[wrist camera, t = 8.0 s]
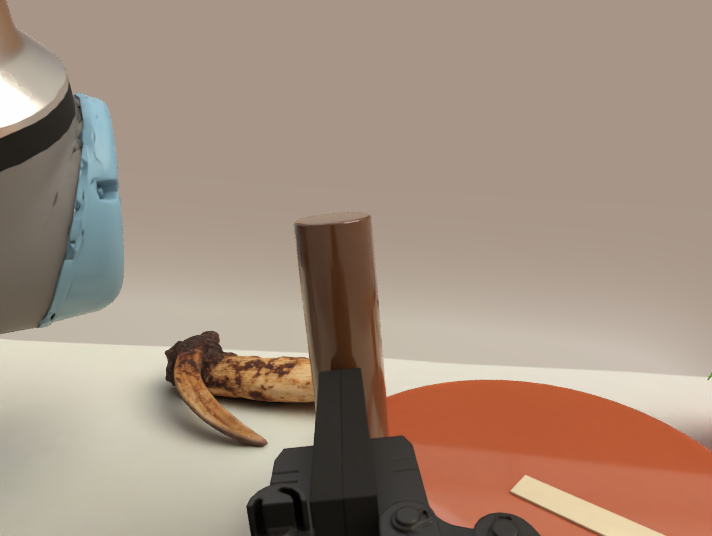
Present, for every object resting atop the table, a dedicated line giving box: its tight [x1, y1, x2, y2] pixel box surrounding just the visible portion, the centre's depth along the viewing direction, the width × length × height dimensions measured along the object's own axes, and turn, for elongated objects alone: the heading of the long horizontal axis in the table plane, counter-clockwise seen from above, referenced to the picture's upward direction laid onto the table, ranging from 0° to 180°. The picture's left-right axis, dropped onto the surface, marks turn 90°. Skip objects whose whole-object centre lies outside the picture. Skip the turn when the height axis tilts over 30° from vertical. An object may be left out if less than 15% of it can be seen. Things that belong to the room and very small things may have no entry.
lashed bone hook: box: [165, 331, 314, 446], centre depth 36 cm, size 9×5×18 cm
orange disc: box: [294, 212, 712, 536], centre depth 21 cm, size 20×20×14 cm
